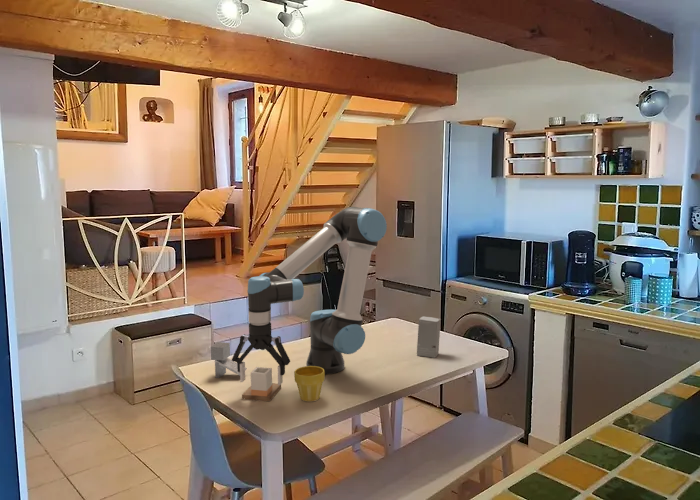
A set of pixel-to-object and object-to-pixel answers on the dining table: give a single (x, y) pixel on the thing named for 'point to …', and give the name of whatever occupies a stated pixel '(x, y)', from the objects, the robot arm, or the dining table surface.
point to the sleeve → (261, 381)
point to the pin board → (262, 398)
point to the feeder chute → (222, 359)
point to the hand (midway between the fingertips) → (261, 382)
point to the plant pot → (309, 382)
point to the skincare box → (428, 336)
